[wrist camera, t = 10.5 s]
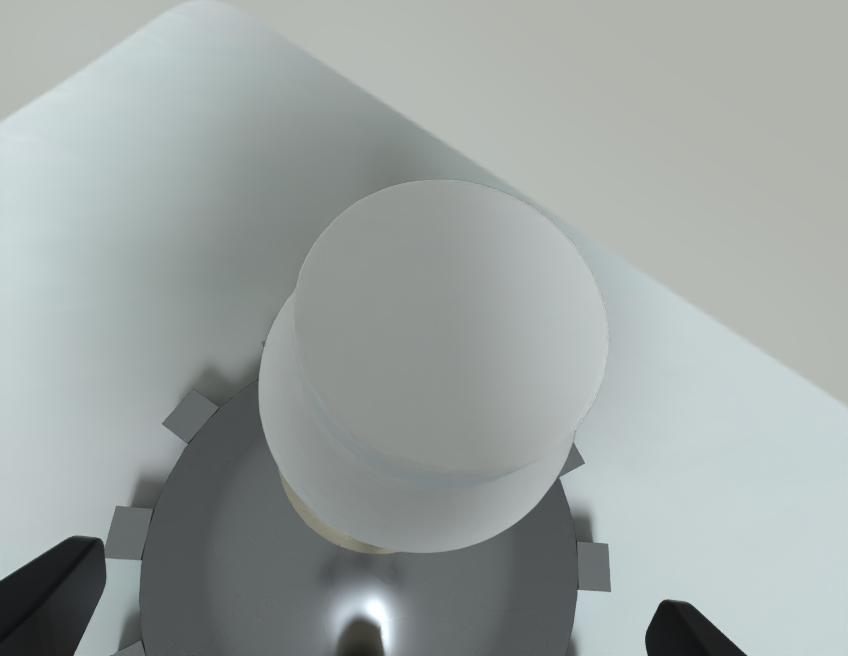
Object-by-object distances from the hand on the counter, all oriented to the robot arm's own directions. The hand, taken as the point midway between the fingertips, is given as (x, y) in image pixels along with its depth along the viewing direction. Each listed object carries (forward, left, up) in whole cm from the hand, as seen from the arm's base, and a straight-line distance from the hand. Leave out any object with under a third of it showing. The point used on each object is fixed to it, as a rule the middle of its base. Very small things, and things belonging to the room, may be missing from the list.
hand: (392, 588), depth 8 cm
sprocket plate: (0, 0, -12) cm, 12 cm away
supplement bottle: (+4, 0, -10) cm, 11 cm away
